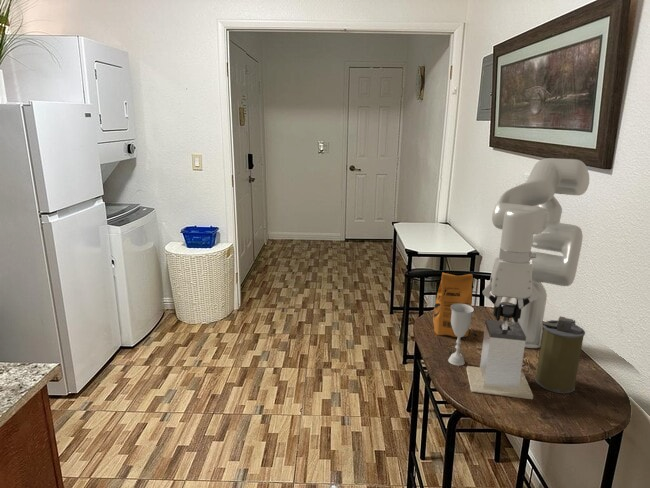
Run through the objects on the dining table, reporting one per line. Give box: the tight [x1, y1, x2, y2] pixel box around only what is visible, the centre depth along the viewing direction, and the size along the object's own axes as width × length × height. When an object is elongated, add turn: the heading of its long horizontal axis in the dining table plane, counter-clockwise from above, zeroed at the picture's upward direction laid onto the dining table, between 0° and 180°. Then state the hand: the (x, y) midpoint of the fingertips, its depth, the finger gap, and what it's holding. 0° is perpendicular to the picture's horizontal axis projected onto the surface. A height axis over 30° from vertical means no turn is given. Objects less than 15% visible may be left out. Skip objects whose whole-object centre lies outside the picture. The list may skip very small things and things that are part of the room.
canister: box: [534, 316, 586, 394], centre depth 124 cm, size 11×10×20 cm
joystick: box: [465, 319, 534, 400], centre depth 124 cm, size 16×12×17 cm
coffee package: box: [432, 272, 474, 338], centre depth 156 cm, size 10×12×22 cm
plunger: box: [500, 301, 516, 330], centre depth 123 cm, size 6×6×22 cm
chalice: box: [447, 303, 474, 367], centre depth 136 cm, size 7×7×18 cm
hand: (506, 319), depth 121 cm, fingers closed on plunger, 4 cm apart
